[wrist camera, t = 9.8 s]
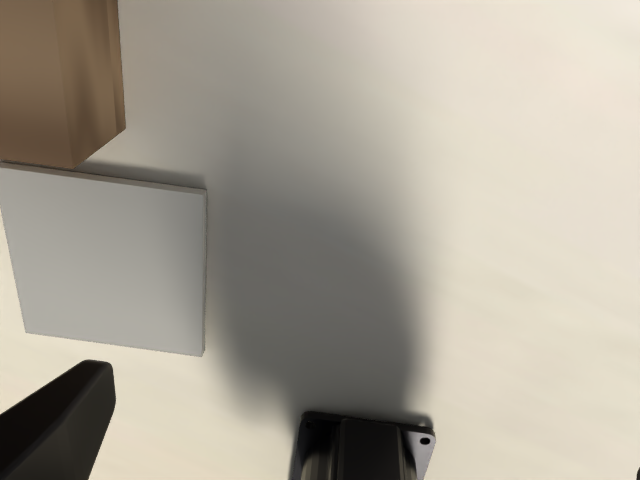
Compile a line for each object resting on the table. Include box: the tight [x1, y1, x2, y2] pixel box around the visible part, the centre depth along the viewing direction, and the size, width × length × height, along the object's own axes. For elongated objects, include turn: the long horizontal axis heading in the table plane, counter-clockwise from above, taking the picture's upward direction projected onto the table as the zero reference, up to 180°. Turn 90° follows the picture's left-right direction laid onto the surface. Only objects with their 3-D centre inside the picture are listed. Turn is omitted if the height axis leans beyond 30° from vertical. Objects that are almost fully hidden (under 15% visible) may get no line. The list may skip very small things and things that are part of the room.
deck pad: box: [0, 162, 207, 357], centre depth 22 cm, size 8×8×1 cm
